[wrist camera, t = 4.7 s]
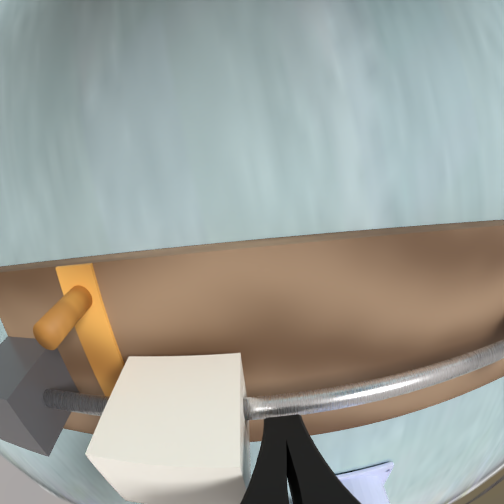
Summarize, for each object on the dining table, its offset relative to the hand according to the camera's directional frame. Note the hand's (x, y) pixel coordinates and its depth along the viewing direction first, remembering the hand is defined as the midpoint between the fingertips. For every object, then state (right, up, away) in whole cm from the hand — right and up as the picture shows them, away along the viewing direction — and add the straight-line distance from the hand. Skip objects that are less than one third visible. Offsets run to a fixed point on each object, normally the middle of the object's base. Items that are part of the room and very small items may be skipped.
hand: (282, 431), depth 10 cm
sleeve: (-4, +1, +3) cm, 5 cm away
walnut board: (+2, +2, +5) cm, 5 cm away
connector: (-13, 0, +5) cm, 14 cm away
